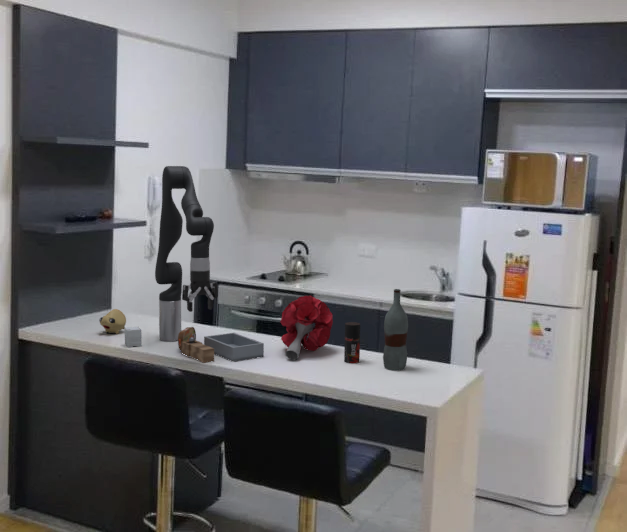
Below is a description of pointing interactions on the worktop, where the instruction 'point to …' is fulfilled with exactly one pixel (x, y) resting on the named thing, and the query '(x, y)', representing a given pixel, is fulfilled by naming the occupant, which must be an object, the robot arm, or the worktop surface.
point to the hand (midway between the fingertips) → (200, 310)
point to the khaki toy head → (113, 321)
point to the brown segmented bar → (198, 351)
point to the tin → (186, 336)
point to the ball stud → (191, 340)
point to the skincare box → (133, 336)
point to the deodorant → (352, 342)
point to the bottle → (395, 335)
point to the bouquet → (306, 325)
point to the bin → (235, 346)
